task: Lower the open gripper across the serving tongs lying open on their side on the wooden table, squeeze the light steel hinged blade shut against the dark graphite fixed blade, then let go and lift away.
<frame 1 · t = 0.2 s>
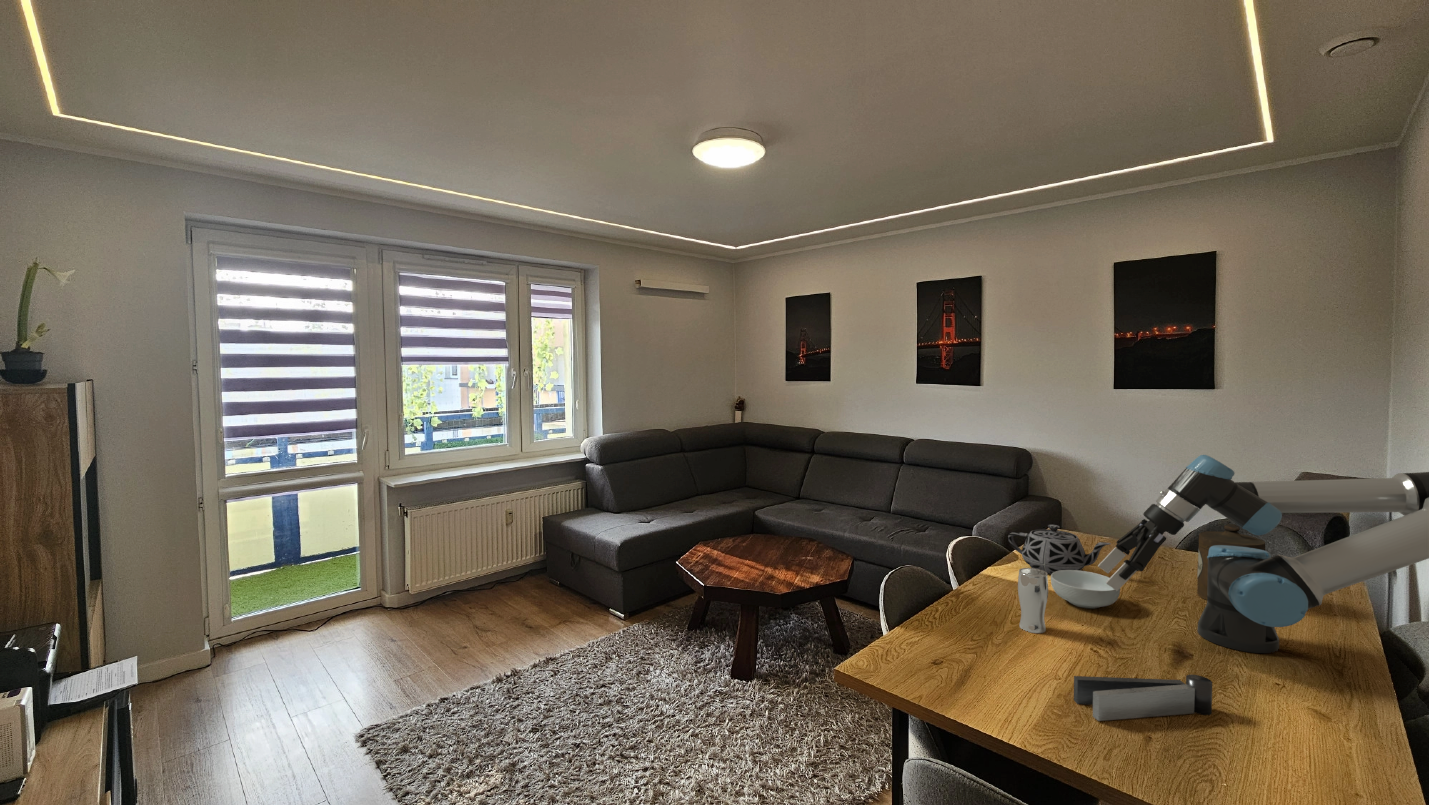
hand: (1106, 578, 147), 16 cm above the table, tool tilted 35°, fingers open, 13 cm apart
teapot: (1056, 570, 201), on the table
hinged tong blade: (1143, 702, 115), point 3 cm above the table, hinge at 12.0°
beer glass: (1032, 629, 156), on the table
cereal bowl: (1084, 604, 172), on the table
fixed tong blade: (1198, 709, 118), on the table
wooden container: (1229, 600, 173), on the table
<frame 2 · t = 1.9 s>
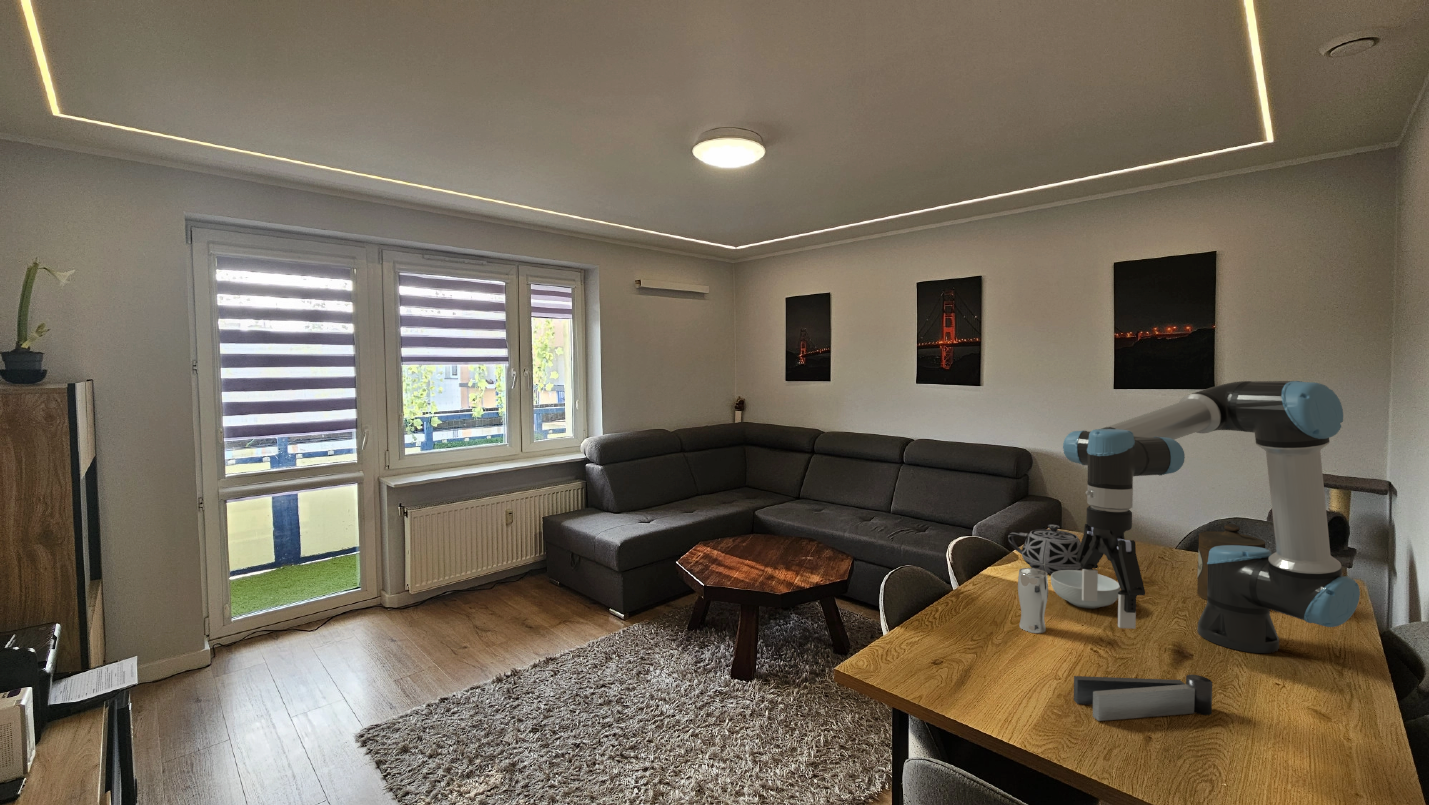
hand: (1106, 613, 119), 19 cm above the table, tool pointing down, fingers open, 13 cm apart
nothing on the table moved.
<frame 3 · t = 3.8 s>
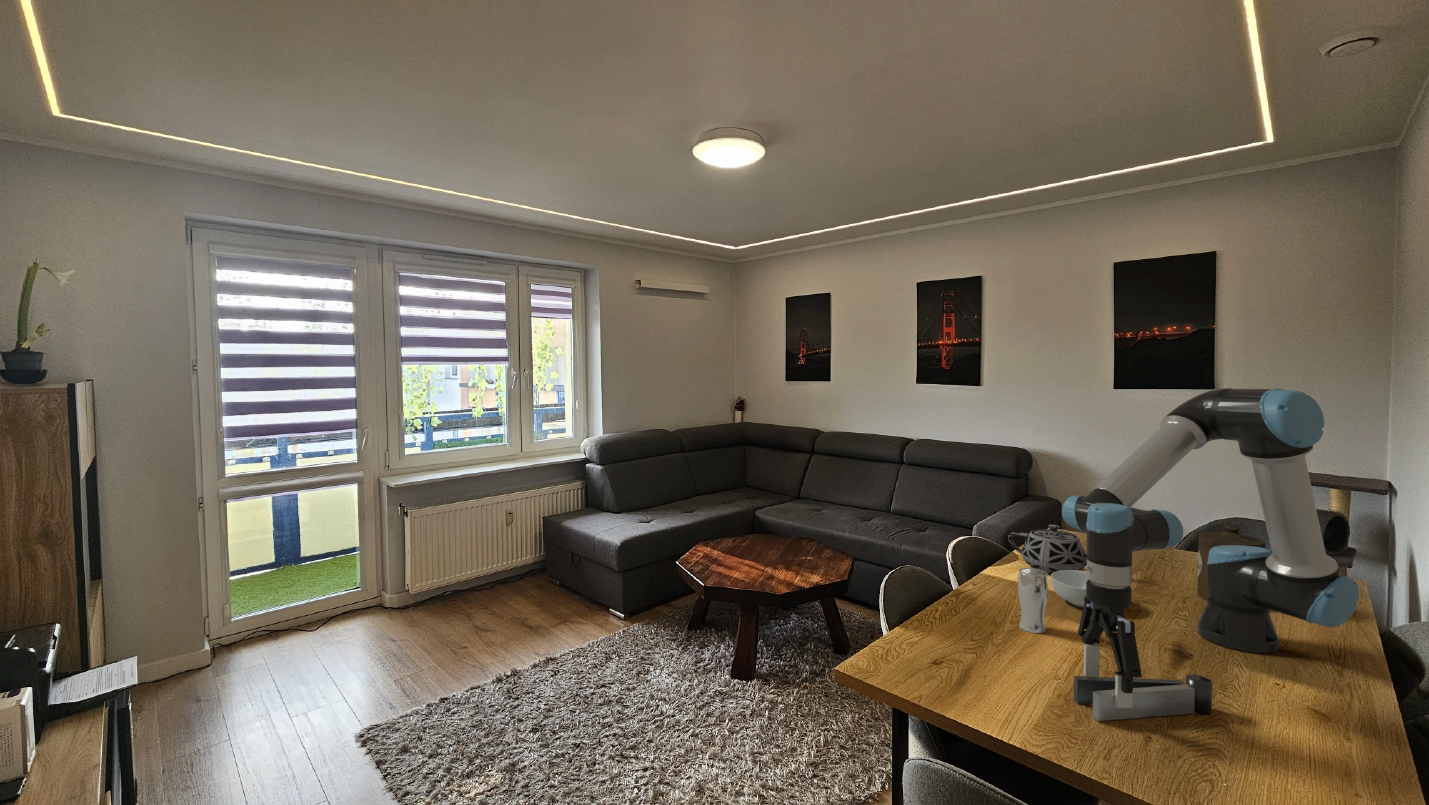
hand: (1106, 690, 119), 3 cm above the table, tool pointing down, fingers open, 11 cm apart
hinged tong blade: (1143, 702, 115), point 3 cm above the table, hinge at 11.9°, touching gripper
everything else where it was.
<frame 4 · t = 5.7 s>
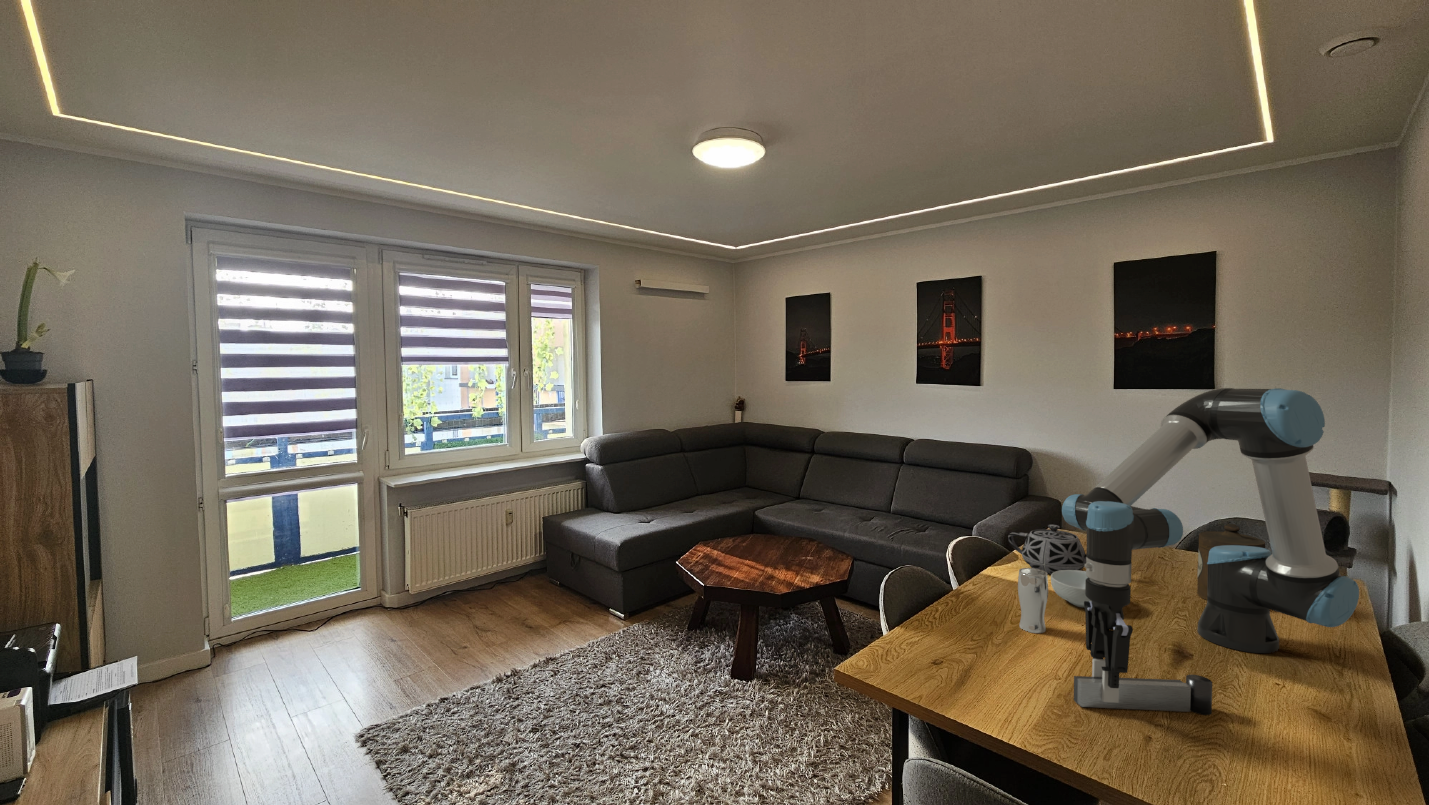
hand: (1104, 695, 120), 2 cm above the table, tool pointing down, fingers open, 3 cm apart
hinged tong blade: (1133, 694, 118), point 3 cm above the table, hinge at -0.5°
everything else where it was.
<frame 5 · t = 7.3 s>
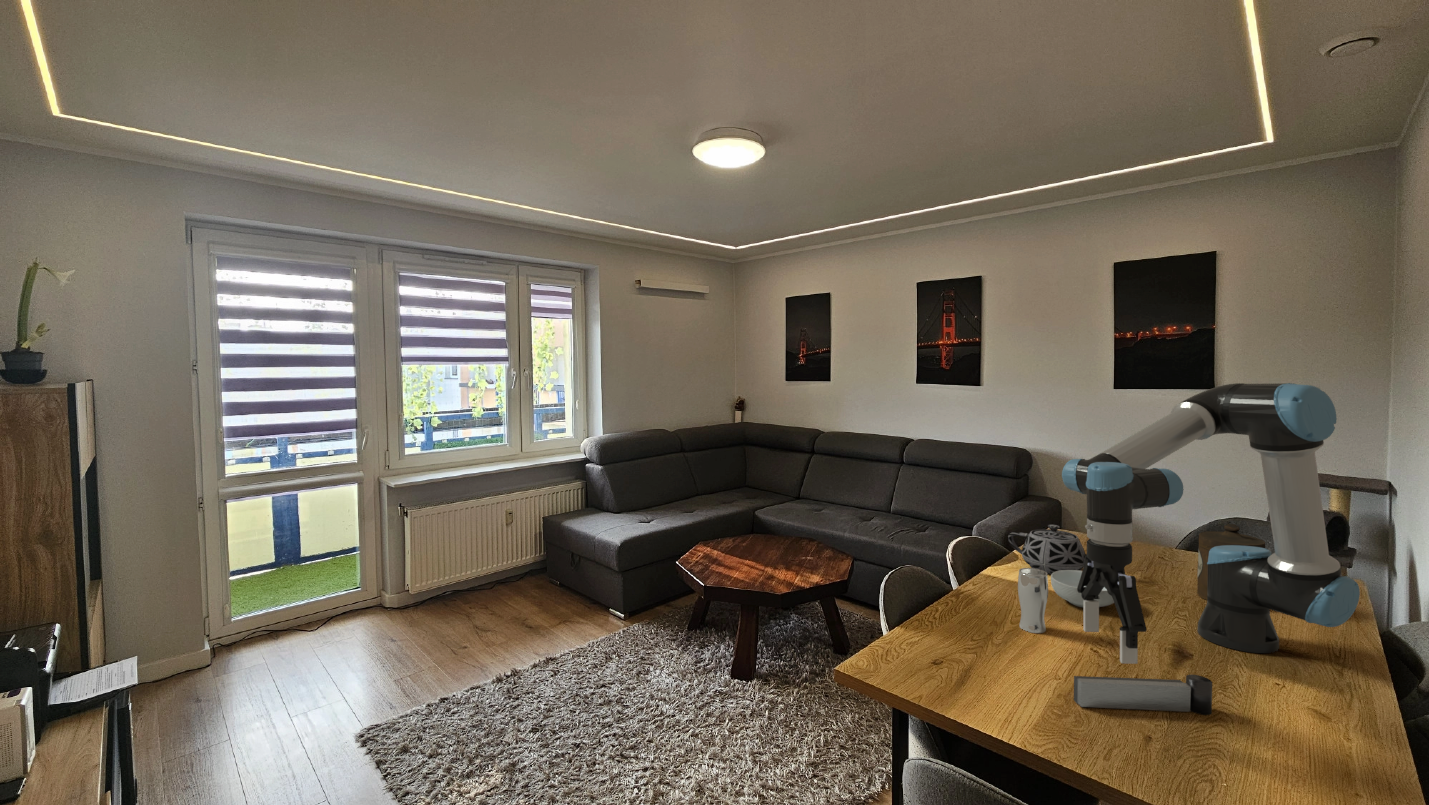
hand: (1108, 646, 119), 12 cm above the table, tool pointing down, fingers open, 13 cm apart
nothing on the table moved.
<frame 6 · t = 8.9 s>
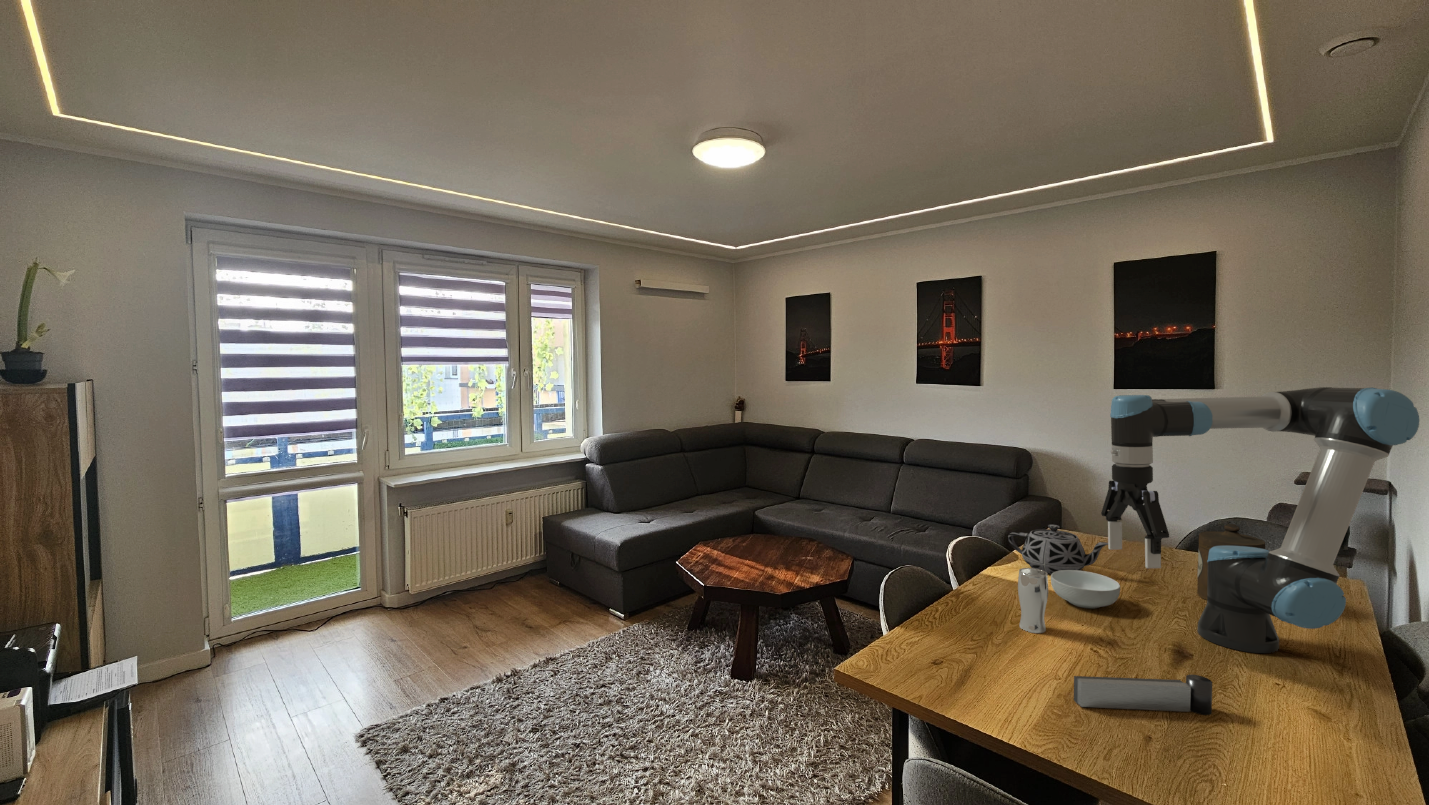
hand: (1133, 558, 134), 25 cm above the table, tool pointing down, fingers open, 13 cm apart
nothing on the table moved.
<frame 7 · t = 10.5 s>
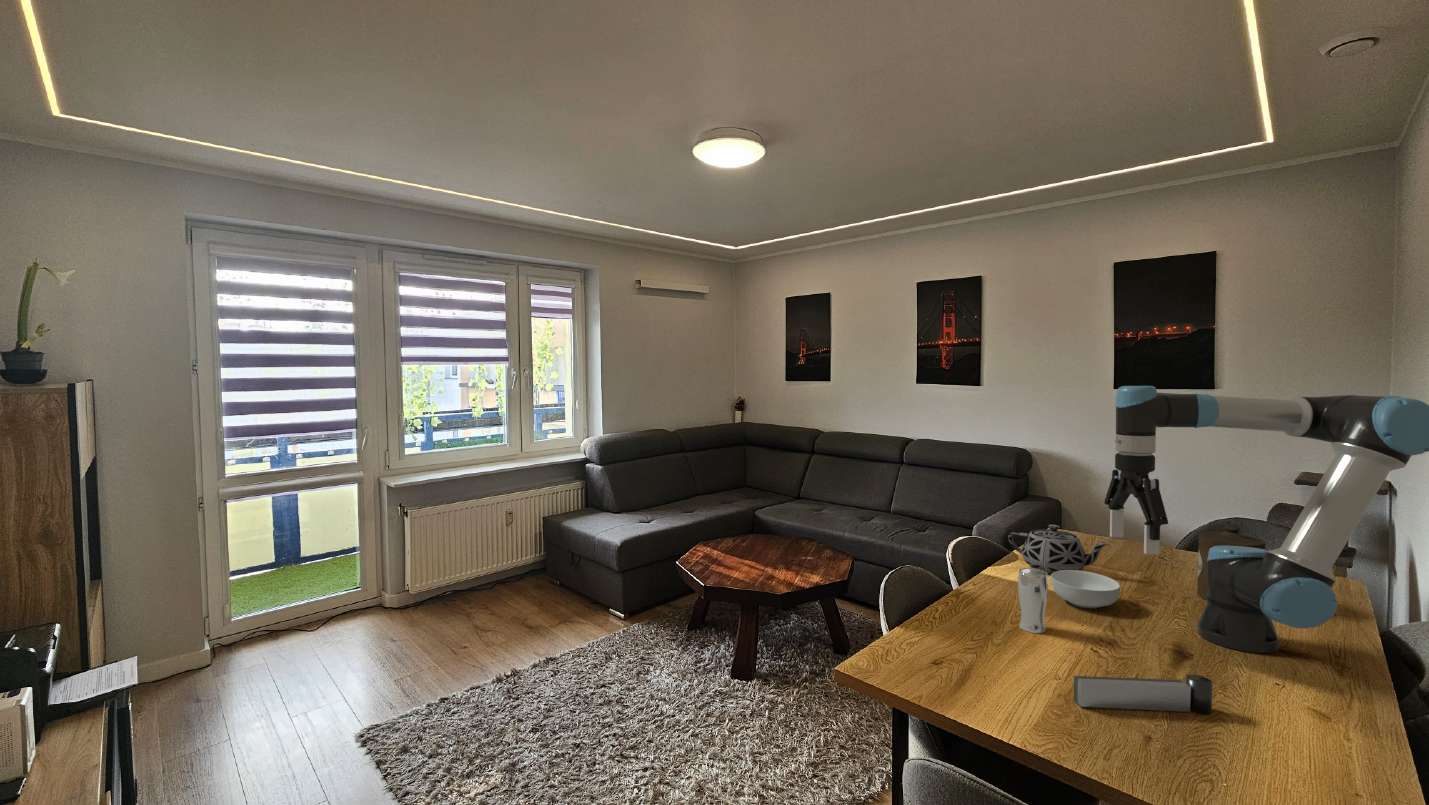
hand: (1133, 545, 137), 27 cm above the table, tool pointing down, fingers open, 13 cm apart
nothing on the table moved.
at the end: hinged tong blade at +0° (first picture: +12°); the gripper is holding nothing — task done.
